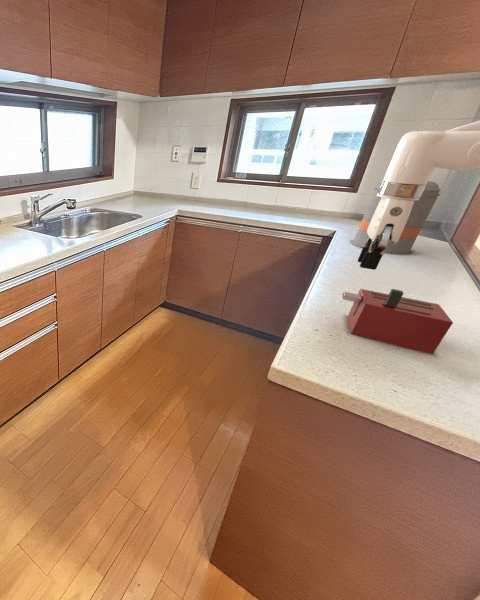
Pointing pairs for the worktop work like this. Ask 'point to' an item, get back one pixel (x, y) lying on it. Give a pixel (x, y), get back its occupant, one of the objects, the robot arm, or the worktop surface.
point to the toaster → (399, 321)
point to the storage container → (412, 225)
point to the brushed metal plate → (351, 297)
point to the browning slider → (393, 298)
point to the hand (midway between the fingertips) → (366, 264)
